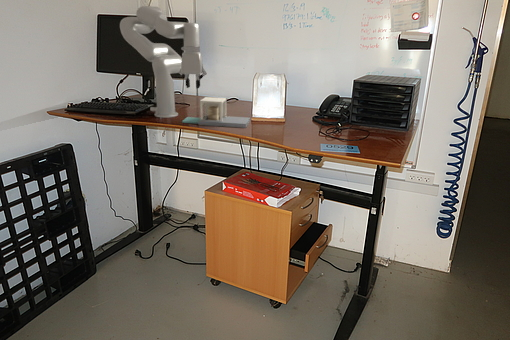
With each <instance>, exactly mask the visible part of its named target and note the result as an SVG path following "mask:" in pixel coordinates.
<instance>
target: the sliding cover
mask: <svg viewBox="0 0 510 340" xmlns="http://www.w3.org/2000/svg"><path fill="white" fill-rule="evenodd" d="M199 101H200V103H199V110H200V112H199V113H200V118H201V120H203V117H204V116H208V107H210V106H219V117H220V121H222V117H226V116H227V98H226V97H214V96H212V97H210V96H205V97H203V98H202V99H200V100H199ZM204 106H205V107H204ZM203 107H204V108H203ZM204 110H205V111H204ZM204 112H205V113H204ZM204 114H205V115H204Z"/></svg>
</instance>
